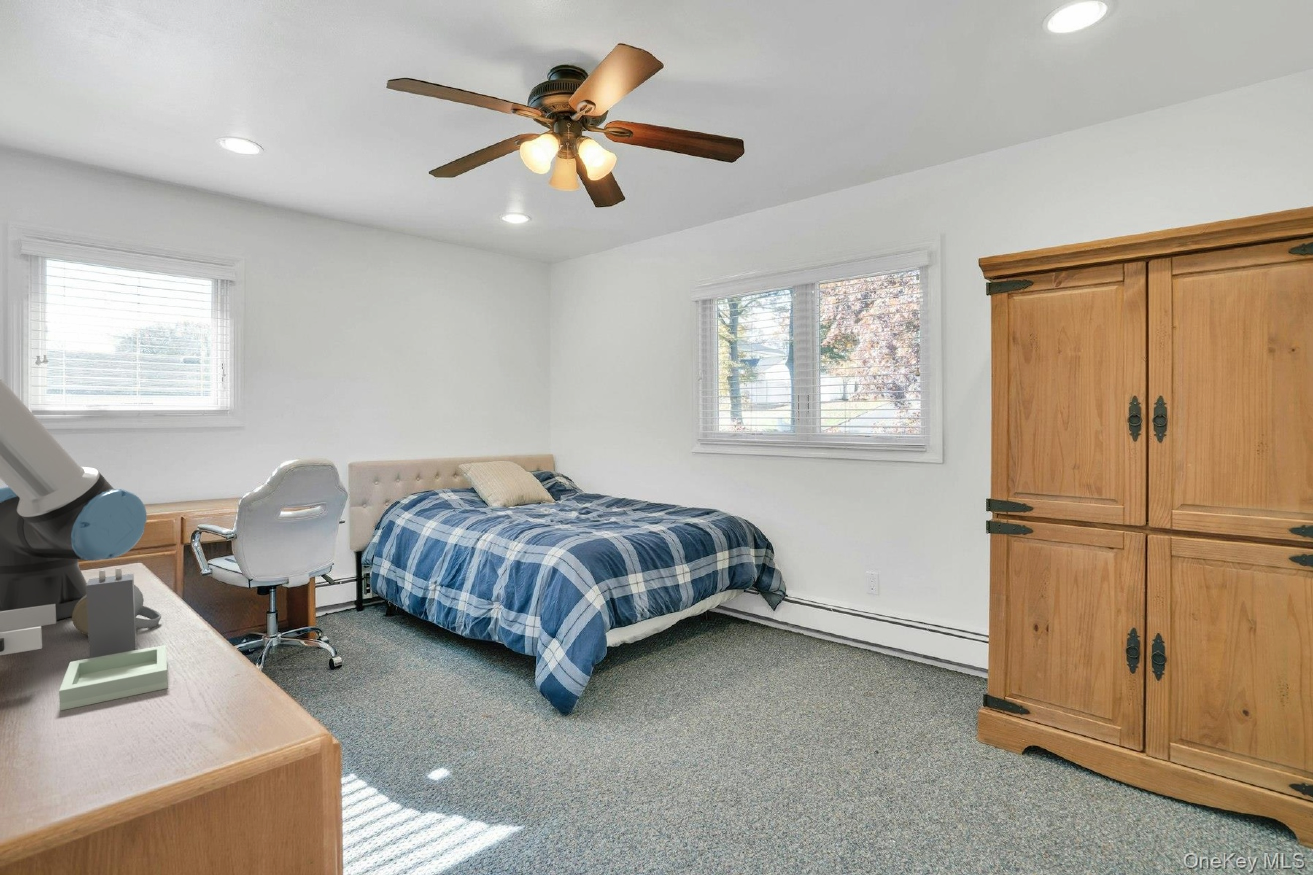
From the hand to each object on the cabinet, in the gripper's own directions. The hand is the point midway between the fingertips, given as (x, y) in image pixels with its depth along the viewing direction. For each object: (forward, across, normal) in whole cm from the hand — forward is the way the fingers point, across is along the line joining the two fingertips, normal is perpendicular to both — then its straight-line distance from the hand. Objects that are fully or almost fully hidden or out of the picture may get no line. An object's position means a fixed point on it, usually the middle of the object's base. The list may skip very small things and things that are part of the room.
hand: (49, 624), depth 91 cm
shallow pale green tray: (+8, +14, -6) cm, 17 cm away
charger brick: (+7, 0, -6) cm, 9 cm away
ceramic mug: (+7, -16, -6) cm, 19 cm away
